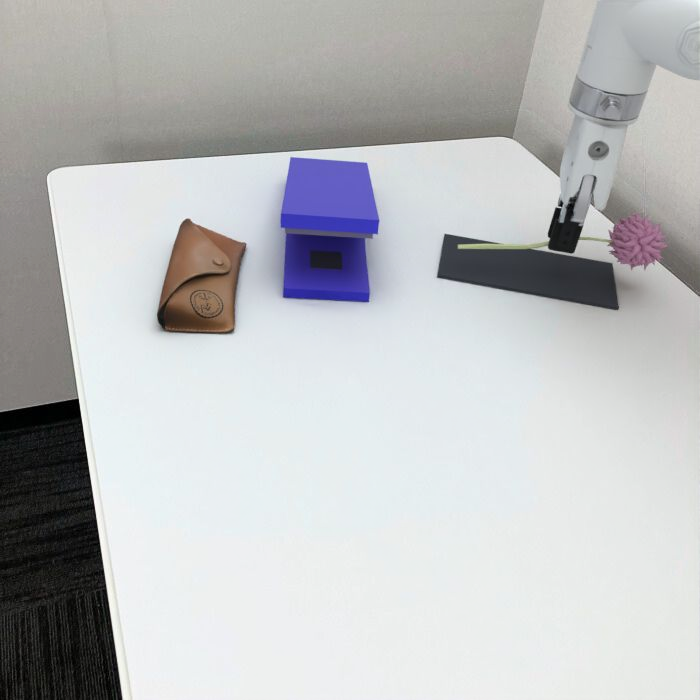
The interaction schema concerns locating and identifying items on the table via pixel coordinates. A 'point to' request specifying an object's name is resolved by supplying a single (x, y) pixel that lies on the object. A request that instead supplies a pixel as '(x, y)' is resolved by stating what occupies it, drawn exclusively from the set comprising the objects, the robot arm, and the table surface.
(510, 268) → the runner
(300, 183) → the stapler
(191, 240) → the sunglasses case
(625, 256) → the artificial flower
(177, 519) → the table surface
